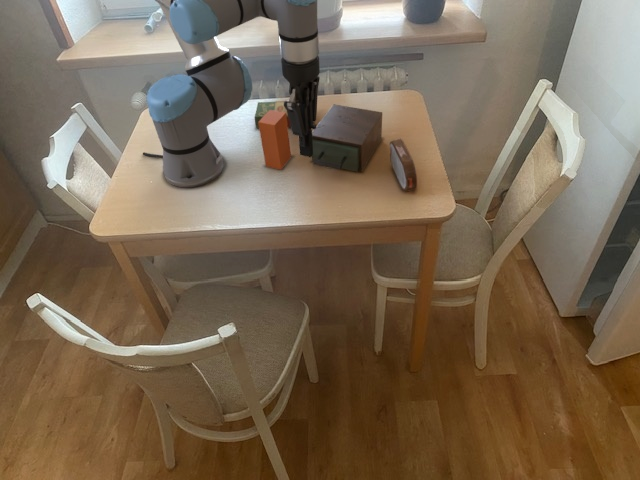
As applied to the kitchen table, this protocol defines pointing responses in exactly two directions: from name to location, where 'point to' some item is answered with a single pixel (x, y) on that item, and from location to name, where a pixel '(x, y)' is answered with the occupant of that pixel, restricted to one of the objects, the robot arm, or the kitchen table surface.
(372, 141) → the cabinet
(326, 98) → the kitchen table surface
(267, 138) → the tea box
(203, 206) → the kitchen table surface
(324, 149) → the drawer
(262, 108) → the carton
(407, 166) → the tin
